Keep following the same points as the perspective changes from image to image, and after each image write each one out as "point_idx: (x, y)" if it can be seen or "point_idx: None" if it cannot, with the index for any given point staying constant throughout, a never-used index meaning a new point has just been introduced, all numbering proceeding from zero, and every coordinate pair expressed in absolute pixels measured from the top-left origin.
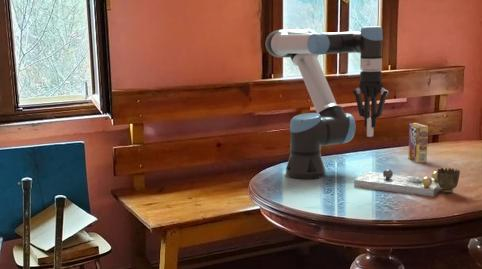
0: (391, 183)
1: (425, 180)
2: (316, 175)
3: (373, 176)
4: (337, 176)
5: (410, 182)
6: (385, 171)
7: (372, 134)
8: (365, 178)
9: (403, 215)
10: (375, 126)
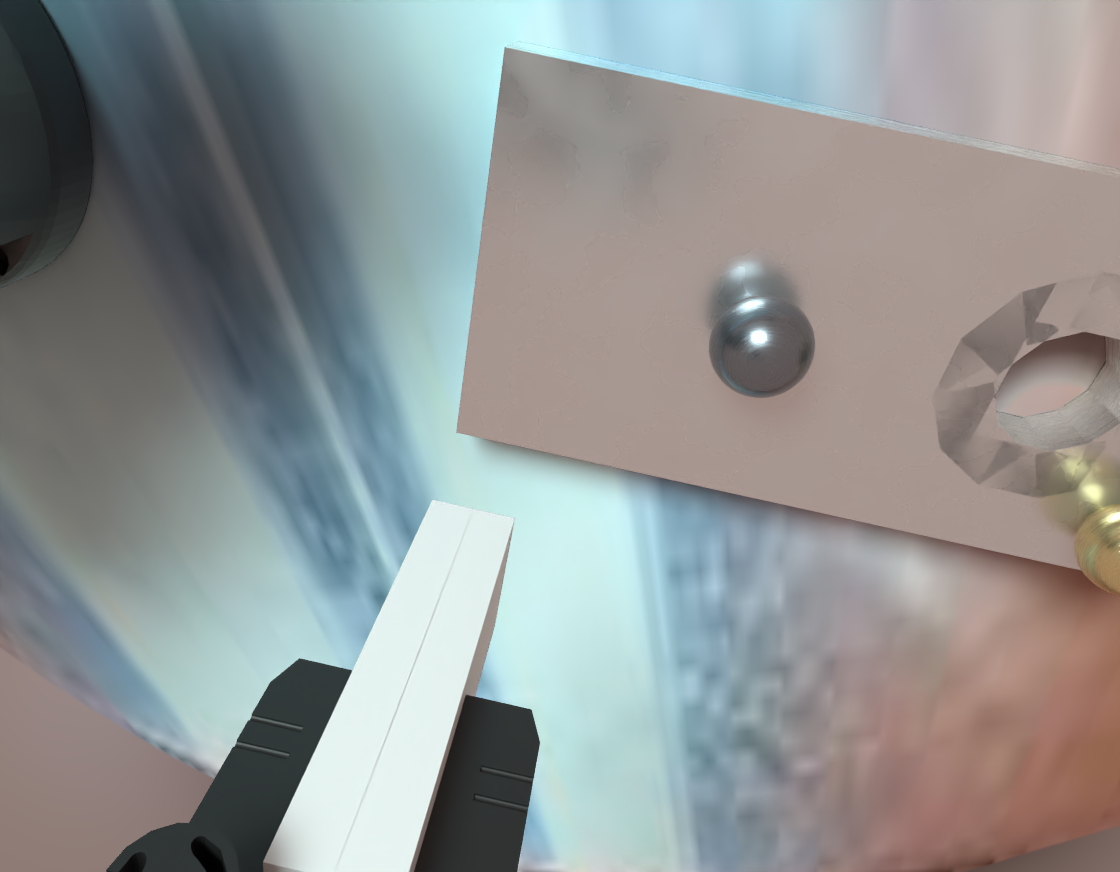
0: (790, 481)
1: (1118, 595)
2: (59, 237)
3: (604, 277)
4: (207, 75)
5: (978, 419)
6: (737, 388)
7: (502, 579)
8: (541, 367)
9: (840, 845)
10: (532, 725)
